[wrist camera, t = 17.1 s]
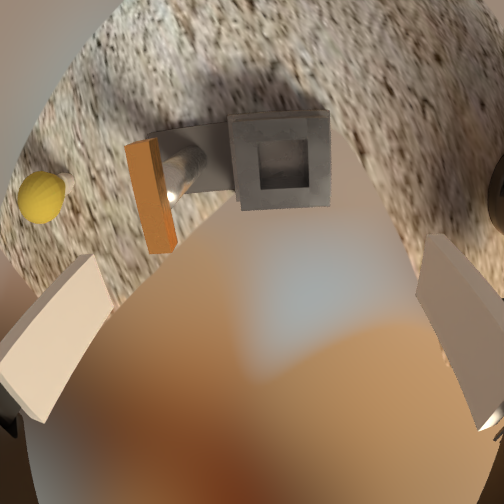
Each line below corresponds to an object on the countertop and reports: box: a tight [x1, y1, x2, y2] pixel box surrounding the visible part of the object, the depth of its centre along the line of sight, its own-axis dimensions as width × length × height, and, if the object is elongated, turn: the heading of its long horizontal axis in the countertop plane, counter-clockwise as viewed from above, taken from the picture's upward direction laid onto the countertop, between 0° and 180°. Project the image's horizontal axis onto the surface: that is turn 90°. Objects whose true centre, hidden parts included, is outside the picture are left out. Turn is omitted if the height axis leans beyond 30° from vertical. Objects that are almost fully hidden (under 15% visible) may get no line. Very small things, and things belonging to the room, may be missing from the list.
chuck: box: [227, 110, 331, 211], centre depth 31 cm, size 11×10×6 cm
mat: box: [148, 122, 235, 194], centre depth 34 cm, size 10×8×1 cm
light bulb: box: [18, 171, 75, 224], centre depth 32 cm, size 7×7×10 cm
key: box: [124, 138, 207, 254], centre depth 28 cm, size 9×4×14 cm, turn 6°
